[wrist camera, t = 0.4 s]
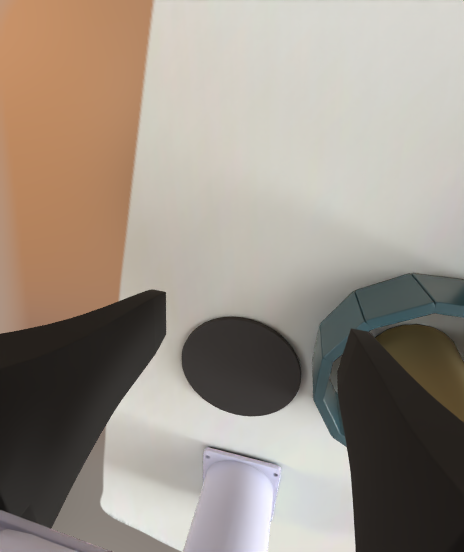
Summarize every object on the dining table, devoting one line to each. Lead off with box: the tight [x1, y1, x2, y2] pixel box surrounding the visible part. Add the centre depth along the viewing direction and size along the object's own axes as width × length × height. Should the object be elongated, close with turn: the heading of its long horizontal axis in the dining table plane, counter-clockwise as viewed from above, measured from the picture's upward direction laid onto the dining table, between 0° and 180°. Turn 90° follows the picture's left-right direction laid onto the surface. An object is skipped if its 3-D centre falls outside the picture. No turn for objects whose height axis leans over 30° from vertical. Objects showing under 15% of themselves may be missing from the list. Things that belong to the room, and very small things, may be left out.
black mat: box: [182, 317, 301, 416], centre depth 25 cm, size 10×10×1 cm
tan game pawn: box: [375, 324, 464, 422], centre depth 16 cm, size 6×6×11 cm
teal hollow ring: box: [312, 273, 464, 447], centre depth 19 cm, size 13×13×4 cm
